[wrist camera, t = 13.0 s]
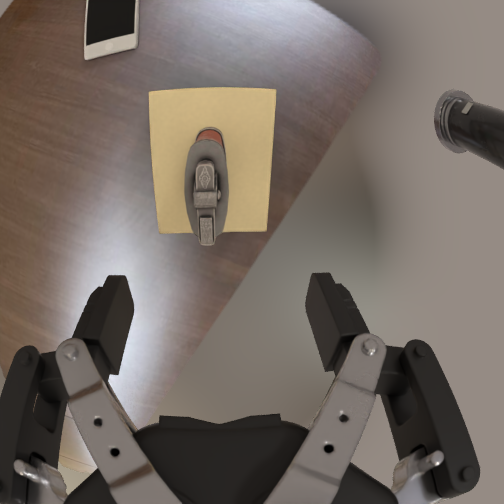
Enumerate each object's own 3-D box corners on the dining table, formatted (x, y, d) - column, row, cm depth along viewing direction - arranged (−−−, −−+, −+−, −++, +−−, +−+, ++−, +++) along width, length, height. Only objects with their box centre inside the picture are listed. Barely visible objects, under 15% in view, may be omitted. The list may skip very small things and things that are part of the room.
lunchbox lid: (275, 89, 24) (276, 89, 23) (265, 228, 32) (266, 231, 32) (150, 91, 22) (148, 91, 22) (160, 230, 31) (159, 233, 30)
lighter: (192, 127, 24) (176, 148, 16) (227, 126, 25) (231, 147, 16) (194, 203, 29) (184, 257, 20) (226, 202, 29) (229, 256, 21)
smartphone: (86, 61, 24) (83, 60, 23) (93, -32, 15) (90, -34, 14) (138, 48, 24) (136, 47, 23) (144, -46, 16) (142, -49, 15)
